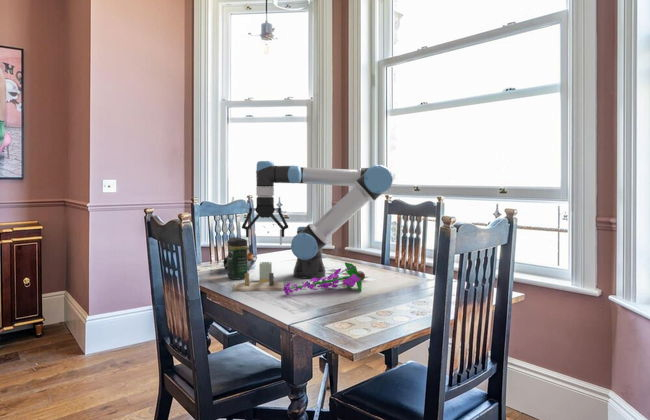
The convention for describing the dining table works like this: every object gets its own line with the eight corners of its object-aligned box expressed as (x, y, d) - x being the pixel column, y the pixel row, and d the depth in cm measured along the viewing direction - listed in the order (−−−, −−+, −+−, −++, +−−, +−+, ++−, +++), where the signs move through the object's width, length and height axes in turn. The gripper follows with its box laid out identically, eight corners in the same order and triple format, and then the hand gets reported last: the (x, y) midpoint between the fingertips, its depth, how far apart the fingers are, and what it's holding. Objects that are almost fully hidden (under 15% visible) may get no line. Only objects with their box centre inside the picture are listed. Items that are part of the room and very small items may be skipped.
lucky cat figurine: (252, 266, 219) (260, 244, 213) (250, 280, 208) (258, 258, 202) (224, 259, 216) (230, 236, 210) (220, 273, 205) (227, 250, 199)
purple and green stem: (369, 299, 175) (290, 316, 160) (351, 272, 187) (276, 286, 172) (376, 276, 168) (294, 293, 154) (357, 251, 180) (279, 263, 166)
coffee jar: (250, 278, 192) (250, 238, 191) (234, 280, 188) (233, 239, 187) (241, 274, 200) (241, 235, 199) (225, 276, 196) (225, 236, 195)
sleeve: (271, 279, 191) (271, 261, 190) (271, 282, 186) (271, 264, 186) (260, 279, 191) (260, 262, 190) (259, 282, 186) (259, 264, 185)
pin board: (283, 284, 182) (283, 270, 182) (283, 290, 172) (283, 275, 172) (236, 285, 180) (236, 271, 180) (233, 291, 170) (233, 276, 170)
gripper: (293, 196, 191) (293, 243, 192) (237, 196, 188) (237, 243, 190) (293, 196, 183) (293, 245, 185) (235, 196, 181) (235, 246, 182)
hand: (265, 244), depth 187 cm, fingers open, 13 cm apart
